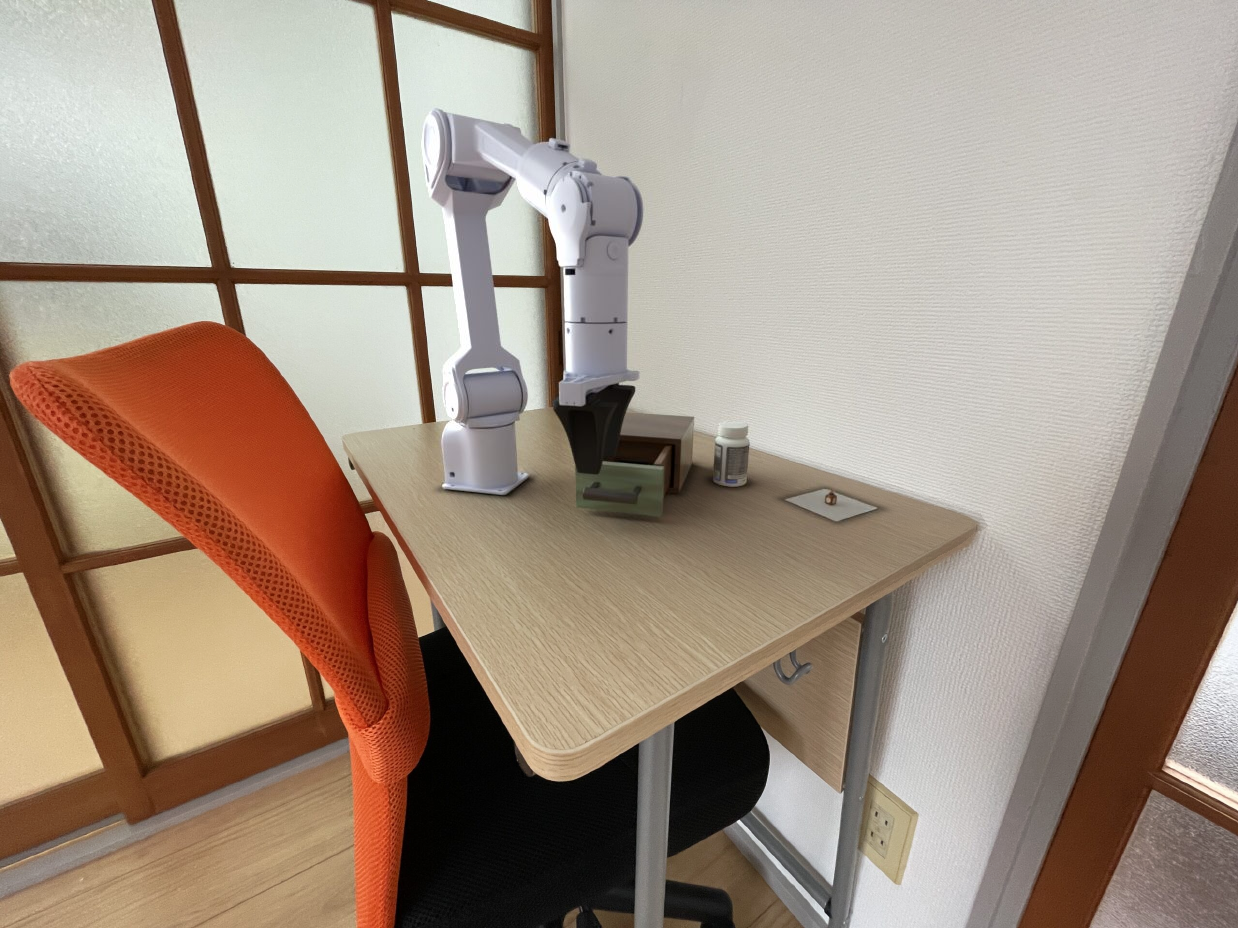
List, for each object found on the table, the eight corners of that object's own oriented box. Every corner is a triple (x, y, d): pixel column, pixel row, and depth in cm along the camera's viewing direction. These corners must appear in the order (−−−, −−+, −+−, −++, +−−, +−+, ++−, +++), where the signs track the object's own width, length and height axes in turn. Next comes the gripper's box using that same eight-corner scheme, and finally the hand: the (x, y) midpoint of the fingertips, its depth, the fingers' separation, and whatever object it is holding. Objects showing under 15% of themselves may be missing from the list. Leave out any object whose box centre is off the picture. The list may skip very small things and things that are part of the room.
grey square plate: (878, 508, 66) (880, 494, 66) (836, 521, 62) (838, 506, 62) (824, 488, 73) (826, 475, 72) (784, 499, 69) (785, 486, 68)
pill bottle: (751, 480, 76) (756, 423, 73) (739, 489, 72) (744, 430, 69) (720, 474, 78) (723, 418, 76) (707, 483, 74) (710, 425, 72)
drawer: (654, 531, 57) (655, 481, 56) (564, 520, 60) (563, 472, 58) (677, 481, 72) (679, 441, 71) (604, 474, 75) (604, 435, 73)
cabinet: (679, 494, 70) (681, 439, 68) (596, 485, 73) (595, 432, 71) (692, 463, 83) (694, 416, 81) (620, 457, 86) (621, 411, 83)
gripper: (618, 327, 40) (617, 493, 45) (654, 319, 54) (651, 447, 58) (532, 325, 42) (539, 485, 46) (588, 318, 55) (590, 442, 60)
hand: (597, 464), depth 52 cm, fingers open, 5 cm apart
